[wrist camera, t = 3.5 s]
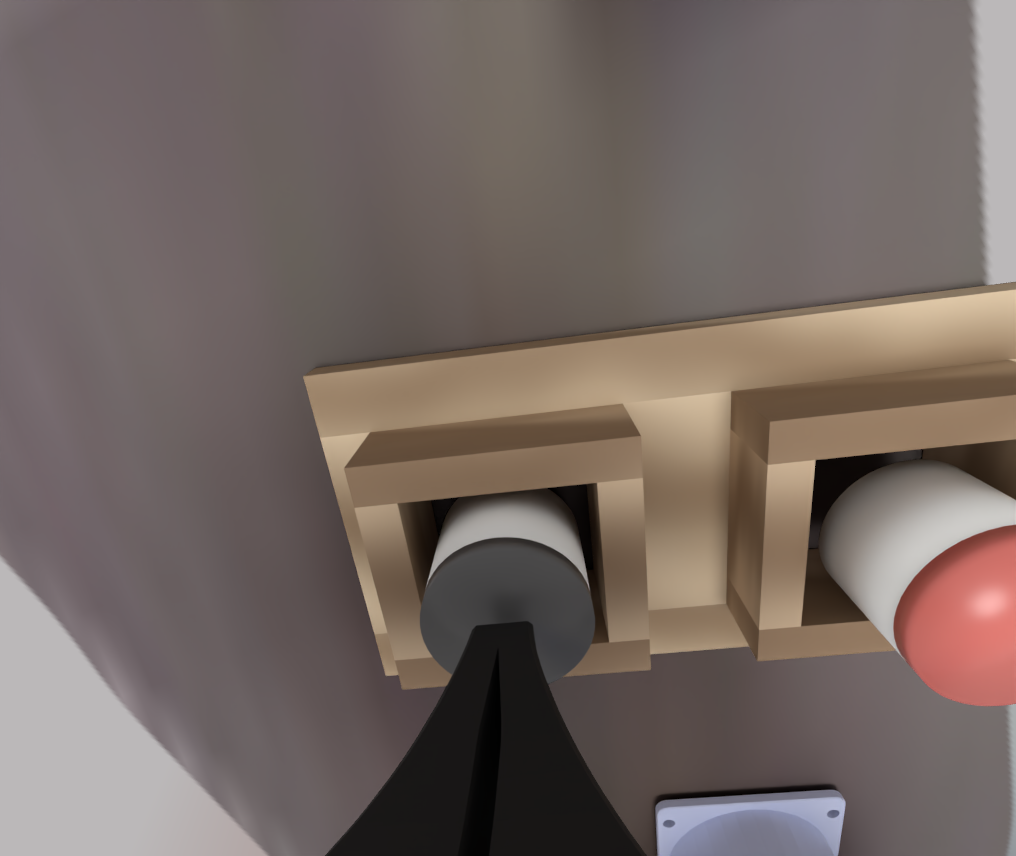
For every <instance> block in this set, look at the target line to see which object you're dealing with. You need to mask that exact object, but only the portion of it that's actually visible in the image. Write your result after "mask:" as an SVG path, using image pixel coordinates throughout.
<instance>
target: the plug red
mask: <svg viewBox="0 0 1016 856" xmlns="http://www.w3.org/2000/svg"><path fill="white" fill-rule="evenodd" d="M819 553H820V557H821V560H822V563H823V565H824V567H825V569H826V571H827V572H828V573H829V575H830V576H831V577H832V578H833V579H834V580H835V582H836V583H837V584H838V585H839V586H840V587H841V588H842V589H843V591H844V592H845V593H846V594H847V595H848V596H849V597H850V599H851V600H852V601H853V602H854V603H855V604H856V605H857V606H858V608H859V609H860V610H861V611H862V612H863V613H864V614H865V616H866V617H867V618H868V619H869V620H870V621H871V622H872V623H873V625H874V626H875V627H876V628H877V629H878V630H879V631H880V633H881V634H882V635H883V636H884V637H885V638H886V639H887V640H888V642H889V643H890V644H891V645H892V646H893V647H894V648H895V649H896V651H897V652H898V653H899V654H900V655H901V656H902V657H903V659H904V660H905V661H906V662H907V663H908V664H909V665H910V666H911V668H912V669H913V670H914V671H915V672H916V673H917V674H918V676H919V677H920V678H921V679H922V680H923V681H924V682H925V683H926V684H927V685H928V686H929V687H930V688H931V689H932V690H934V691H935V692H937V693H938V694H940V695H942V696H944V697H946V698H948V699H951V700H954V701H957V702H960V703H965V704H970V705H978V706H1002V705H1011V704H1016V500H1015V499H1013V498H1011V497H1009V496H1008V495H1006V494H1004V493H1002V492H1000V491H999V490H997V489H995V488H993V487H991V486H990V485H988V484H986V483H984V482H982V481H981V480H979V479H977V478H975V477H973V476H972V475H970V474H968V473H966V472H964V471H963V470H961V469H959V468H957V467H955V466H953V465H950V464H948V463H945V462H940V461H935V460H925V459H920V460H908V461H901V462H897V463H893V464H890V465H887V466H884V467H881V468H879V469H877V470H875V471H873V472H871V473H869V474H867V475H865V476H864V477H862V478H860V479H859V480H857V481H856V482H855V483H853V484H852V485H851V486H850V487H848V488H847V489H846V490H845V491H844V492H843V493H842V494H841V495H840V496H839V497H838V498H837V500H836V501H835V502H834V503H833V505H832V506H831V508H830V509H829V511H828V513H827V515H826V517H825V519H824V521H823V524H822V527H821V530H820V535H819Z"/></svg>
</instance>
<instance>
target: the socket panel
mask: <svg viewBox="0 0 1016 856" xmlns="http://www.w3.org/2000/svg"><path fill="white" fill-rule="evenodd" d="M303 378H304V381H305V385H306V388H307V392H308V396H309V399H310V403H311V406H312V410H313V414H314V417H315V421H316V425H317V428H318V432H319V435H320V439H321V443H322V446H323V450H324V453H325V457H326V461H327V464H328V468H329V472H330V475H331V479H332V482H333V486H334V490H335V493H336V497H337V500H338V504H339V508H340V511H341V515H342V518H343V522H344V526H345V529H346V533H347V537H348V540H349V544H350V547H351V551H352V555H353V558H354V562H355V565H356V569H357V573H358V576H359V580H360V584H361V587H362V591H363V594H364V598H365V602H366V605H367V609H368V612H369V616H370V620H371V623H372V627H373V631H374V634H375V638H376V641H377V645H378V649H379V652H380V656H381V659H382V663H383V667H384V670H385V674H386V676H391V675H399V678H400V682H401V686H402V690H403V689H416V688H428V687H441V686H447V684H448V682H449V680H450V678H451V677H452V674H450V673H449V672H447V671H446V670H445V669H444V668H443V667H441V666H440V665H439V664H438V663H437V661H436V660H435V659H434V658H433V657H432V655H431V654H430V652H429V651H428V649H427V647H426V645H425V643H424V641H423V637H422V634H421V629H420V611H421V605H422V601H423V598H424V594H425V590H426V586H427V582H428V578H429V575H430V571H431V567H432V563H433V559H434V555H435V552H436V548H437V544H438V540H439V537H438V532H437V527H436V522H435V517H434V512H433V507H432V502H431V500H436V499H445V498H455V497H464V496H474V495H484V494H493V493H503V492H513V491H522V490H532V489H541V488H551V487H561V486H570V485H580V484H587V495H588V507H589V519H590V531H591V543H592V554H593V566H594V569H592V570H586V572H587V577H588V583H589V588H590V593H591V599H592V604H593V609H594V615H595V631H594V636H593V639H592V643H591V645H590V647H589V649H588V651H587V653H586V655H585V656H584V657H583V659H582V660H581V661H580V662H579V664H578V665H577V666H576V667H575V668H574V669H572V670H571V671H570V672H569V673H567V674H566V675H564V676H563V677H567V676H579V675H592V674H604V673H617V672H629V671H642V670H651V662H650V654H661V653H673V652H685V651H697V650H710V649H722V648H734V647H747V646H749V647H750V648H751V650H752V652H753V654H754V656H755V658H756V660H757V661H768V660H780V659H793V658H805V657H818V656H830V655H843V654H855V653H868V652H881V651H893V650H896V649H895V648H894V647H893V646H892V645H891V644H890V643H889V642H888V640H887V639H886V638H885V637H884V636H883V635H882V634H881V633H880V631H879V630H878V629H877V628H876V627H875V626H874V625H873V623H872V622H871V621H870V620H869V619H868V618H867V617H866V616H865V614H864V613H863V612H862V611H861V610H860V609H859V608H858V606H857V605H856V604H855V603H854V602H853V601H852V600H851V599H850V597H849V596H848V595H847V594H846V593H845V592H844V591H843V589H842V588H841V587H840V586H839V585H838V584H837V583H836V582H835V580H834V579H833V578H832V577H831V576H830V575H829V573H828V572H827V571H826V569H825V567H824V565H823V563H822V560H821V557H820V553H819V548H818V549H808V541H809V529H810V518H811V506H812V495H813V484H814V472H815V461H816V460H820V459H830V458H840V457H849V456H859V455H869V454H878V453H888V452H897V451H907V450H917V449H924V450H923V456H922V459H925V460H935V461H940V462H945V463H948V464H950V465H953V466H955V467H957V468H959V469H961V470H963V471H964V472H966V473H968V474H970V475H972V476H973V477H975V478H977V479H979V480H981V481H982V482H984V483H986V484H988V485H990V486H991V487H993V488H995V489H997V490H999V491H1000V492H1002V493H1004V494H1006V495H1008V496H1009V497H1011V498H1013V499H1015V500H1016V282H1011V283H1003V284H995V285H986V286H978V287H970V288H962V289H954V290H946V291H938V292H929V293H921V294H913V295H905V296H897V297H889V298H881V299H872V300H864V301H856V302H848V303H840V304H832V305H824V306H815V307H807V308H799V309H791V310H783V311H775V312H767V313H759V314H750V315H742V316H734V317H726V318H718V319H710V320H702V321H693V322H685V323H677V324H669V325H661V326H653V327H645V328H637V329H628V330H620V331H612V332H604V333H596V334H588V335H580V336H571V337H563V338H555V339H547V340H539V341H531V342H523V343H514V344H506V345H498V346H490V347H482V348H474V349H466V350H458V351H449V352H441V353H433V354H425V355H417V356H409V357H401V358H392V359H384V360H376V361H368V362H360V363H352V364H344V365H335V366H327V367H319V368H315V369H313V370H312V371H310V372H309V373H307V374H306V375H305V376H303Z"/></svg>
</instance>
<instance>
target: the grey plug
mask: <svg viewBox="0 0 1016 856" xmlns="http://www.w3.org/2000/svg"><path fill="white" fill-rule="evenodd" d="M521 621H529V622H530V623H531V624H533V628H534V635H535V642H536V649H537V653H538V657H539V660H540V664H541V667H542V670H543V673H544V675H545V678H546V681H547V683H548V684H550V683H552V682H554V681H556V680H558V679H560V678H561V677H563V676H564V675H566V674H567V673H569V672H570V671H571V670H572V669H574V668H575V667H576V666H577V665H578V664H579V662H580V661H581V660H582V659H583V657H584V656H585V655H586V653H587V651H588V649H589V647H590V645H591V643H592V639H593V636H594V631H595V615H594V609H593V604H592V599H591V593H590V588H589V583H588V577H587V572H586V567H585V562H584V556H583V551H582V546H581V540H580V535H579V530H578V525H577V522H576V519H575V517H574V515H573V513H572V511H571V510H570V508H569V507H568V506H567V504H566V503H565V502H564V501H563V500H562V499H561V498H560V497H559V496H558V495H556V494H555V493H554V492H552V491H551V490H549V489H547V488H541V489H532V490H522V491H513V492H503V493H493V494H484V495H474V496H464V497H459V498H458V499H457V500H456V501H455V502H454V503H453V505H452V506H451V507H450V509H449V510H448V512H447V514H446V516H445V519H444V522H443V525H442V529H441V532H440V536H439V540H438V544H437V548H436V552H435V555H434V559H433V563H432V567H431V571H430V575H429V578H428V582H427V586H426V590H425V594H424V598H423V601H422V605H421V611H420V629H421V634H422V637H423V641H424V643H425V645H426V647H427V649H428V651H429V652H430V654H431V655H432V657H433V658H434V659H435V660H436V661H437V663H438V664H439V665H440V666H441V667H443V668H444V669H445V670H446V671H447V672H449V673H450V674H452V675H453V673H454V671H455V668H456V666H457V664H458V662H459V660H460V658H461V656H462V653H463V651H464V649H465V647H466V644H467V642H468V639H469V637H470V634H471V631H472V629H473V628H474V627H475V626H476V625H487V624H498V623H510V622H521Z"/></svg>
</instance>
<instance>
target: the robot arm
mask: <svg viewBox="0 0 1016 856" xmlns="http://www.w3.org/2000/svg"><path fill="white" fill-rule="evenodd" d="M845 805H846V803H845V800H844V798H843V796H842V795H841V793H840V792H838V791H836V790H816V791H800V792H784V793H768V794H752V795H736V796H721V797H705V798H689V799H673V800H663V801H661V802H659V803H658V804H657V805H656V808H655V813H656V836H657V856H838V852H839V846H840V839H841V832H842V825H843V819H844V812H845ZM325 856H647V855H646V854H645V853H644V851H643V850H642V849H641V847H640V846H639V844H638V843H637V842H636V840H635V839H634V838H633V836H632V835H631V834H630V832H629V831H628V829H627V828H626V826H625V825H624V823H623V822H622V820H621V819H620V817H619V816H618V814H617V813H616V811H615V810H614V808H613V807H612V805H611V804H610V802H609V801H608V799H607V798H606V796H605V795H604V793H603V792H602V790H601V788H600V787H599V785H598V783H597V782H596V780H595V778H594V777H593V775H592V773H591V772H590V770H589V768H588V766H587V765H586V763H585V761H584V759H583V757H582V756H581V754H580V752H579V750H578V748H577V747H576V745H575V743H574V741H573V739H572V737H571V735H570V733H569V731H568V729H567V727H566V725H565V723H564V721H563V718H562V716H561V714H560V712H559V710H558V708H557V705H556V703H555V701H554V698H553V696H552V693H551V691H550V688H549V686H548V683H547V681H546V678H545V675H544V673H543V670H542V667H541V664H540V660H539V657H538V653H537V649H536V642H535V635H534V628H533V624H531V623H530V622H529V621H521V622H510V623H498V624H487V625H476V626H475V627H474V628H473V629H472V631H471V634H470V637H469V639H468V642H467V644H466V647H465V649H464V651H463V653H462V656H461V658H460V660H459V662H458V664H457V666H456V668H455V671H454V673H453V675H452V677H451V678H450V680H449V682H448V684H447V686H446V688H445V690H444V692H443V694H442V696H441V698H440V700H439V701H438V703H437V705H436V707H435V708H434V710H433V712H432V713H431V715H430V717H429V718H428V720H427V722H426V724H425V725H424V727H423V729H422V730H421V732H420V734H419V735H418V737H417V738H416V740H415V742H414V743H413V745H412V746H411V748H410V749H409V751H408V752H407V754H406V755H405V757H404V758H403V760H402V761H401V762H400V764H399V765H398V767H397V768H396V770H395V771H394V772H393V774H392V775H391V777H390V778H389V779H388V781H387V782H386V783H385V785H384V786H383V787H382V789H381V790H380V791H379V792H378V794H377V795H376V796H375V798H374V799H373V800H372V801H371V803H370V804H369V805H368V807H367V808H366V809H365V810H364V812H363V813H362V814H361V815H360V817H359V818H358V819H357V820H356V821H355V823H354V824H353V825H352V826H351V827H350V828H349V829H348V831H347V832H346V833H345V834H344V835H343V836H342V837H341V838H340V840H339V841H338V842H337V843H336V844H335V845H334V846H333V847H332V848H331V850H330V851H329V852H328V853H327V854H326V855H325Z"/></svg>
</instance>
